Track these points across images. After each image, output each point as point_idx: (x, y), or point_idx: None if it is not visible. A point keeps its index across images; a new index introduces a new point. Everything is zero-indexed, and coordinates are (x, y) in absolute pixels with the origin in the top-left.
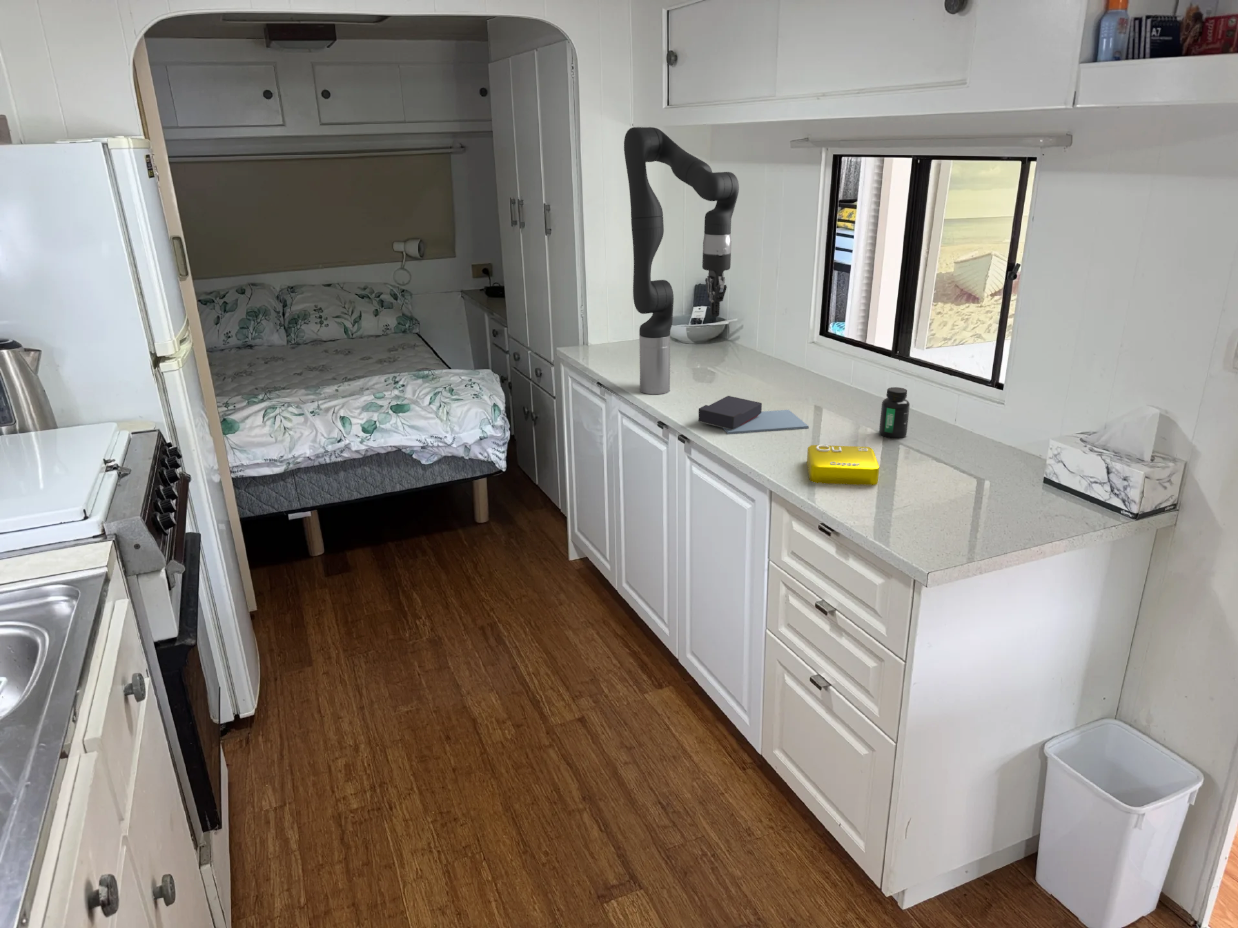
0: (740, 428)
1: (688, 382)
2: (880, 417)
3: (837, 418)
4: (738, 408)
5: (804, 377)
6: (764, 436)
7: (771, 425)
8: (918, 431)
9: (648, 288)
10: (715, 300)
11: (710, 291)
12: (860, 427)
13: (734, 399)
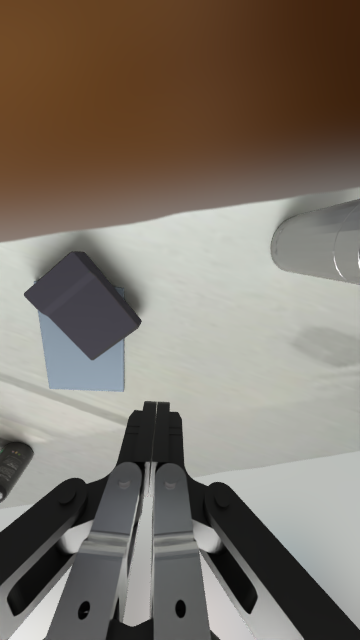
0: None
1: (312, 314)
2: (6, 461)
3: (86, 427)
4: (73, 319)
5: (257, 452)
6: (21, 326)
7: (58, 349)
8: (28, 474)
9: None
10: (52, 499)
11: (92, 578)
12: (48, 435)
13: (117, 329)
